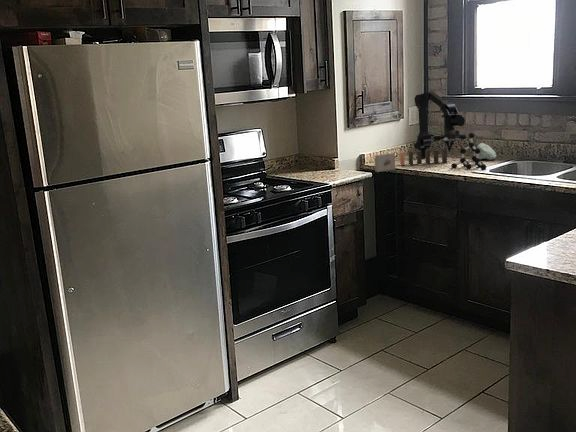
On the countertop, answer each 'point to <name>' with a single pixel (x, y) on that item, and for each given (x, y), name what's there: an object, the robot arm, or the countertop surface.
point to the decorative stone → (486, 152)
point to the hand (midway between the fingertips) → (449, 151)
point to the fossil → (384, 162)
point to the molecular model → (474, 158)
